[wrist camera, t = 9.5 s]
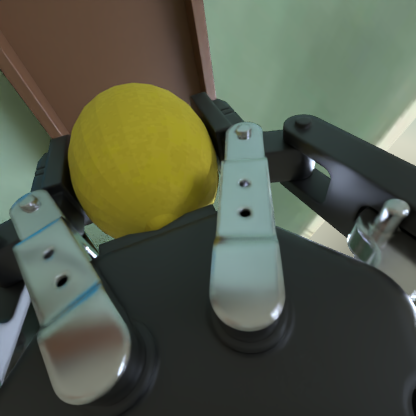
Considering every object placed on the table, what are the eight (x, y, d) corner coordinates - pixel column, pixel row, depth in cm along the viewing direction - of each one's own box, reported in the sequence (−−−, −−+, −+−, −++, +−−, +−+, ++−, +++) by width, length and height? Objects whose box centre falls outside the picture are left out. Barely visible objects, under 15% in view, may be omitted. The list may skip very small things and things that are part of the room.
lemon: (53, 133, 12) (24, 278, 7) (110, 25, 10) (134, 109, 4) (150, 177, 15) (181, 293, 10) (206, 106, 13) (283, 204, 8)
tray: (87, 170, 24) (87, 187, 22) (-79, -69, 12) (-107, -73, 10) (213, 128, 25) (222, 141, 23) (172, -125, 13) (184, -136, 12)
